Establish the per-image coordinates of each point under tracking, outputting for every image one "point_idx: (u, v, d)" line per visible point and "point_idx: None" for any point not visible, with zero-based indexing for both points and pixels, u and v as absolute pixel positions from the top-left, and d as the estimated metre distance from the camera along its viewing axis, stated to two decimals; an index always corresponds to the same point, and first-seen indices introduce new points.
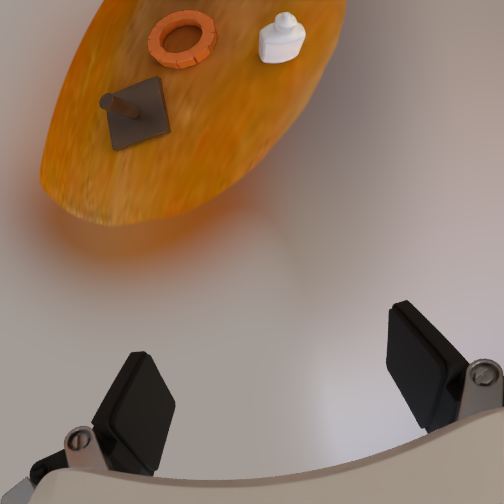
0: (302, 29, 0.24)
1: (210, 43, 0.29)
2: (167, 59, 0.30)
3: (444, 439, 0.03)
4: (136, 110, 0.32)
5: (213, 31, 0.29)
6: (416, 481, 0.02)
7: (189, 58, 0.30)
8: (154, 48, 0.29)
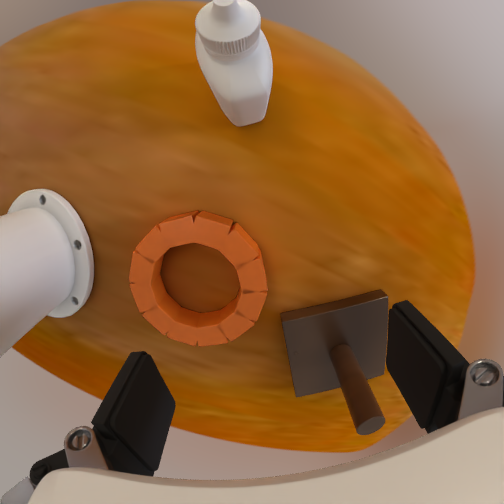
0: None
1: (223, 224, 0.18)
2: (254, 309, 0.19)
3: (444, 439, 0.03)
4: (347, 352, 0.20)
5: (190, 220, 0.18)
6: (416, 481, 0.02)
7: (259, 266, 0.19)
8: (221, 333, 0.20)
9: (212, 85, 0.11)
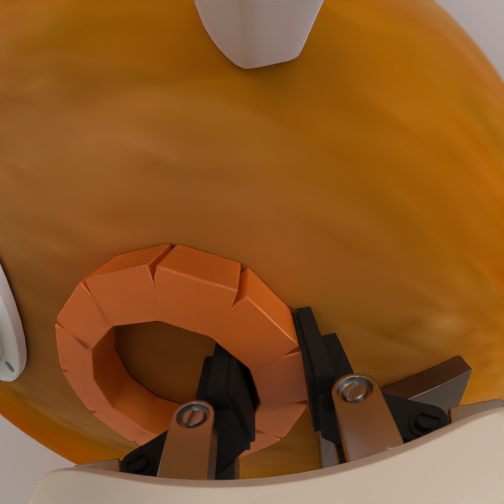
0: None
1: (220, 286, 0.08)
2: (281, 424, 0.09)
3: (444, 439, 0.03)
4: None
5: (145, 274, 0.07)
6: (416, 481, 0.02)
7: (298, 366, 0.08)
8: None
9: None
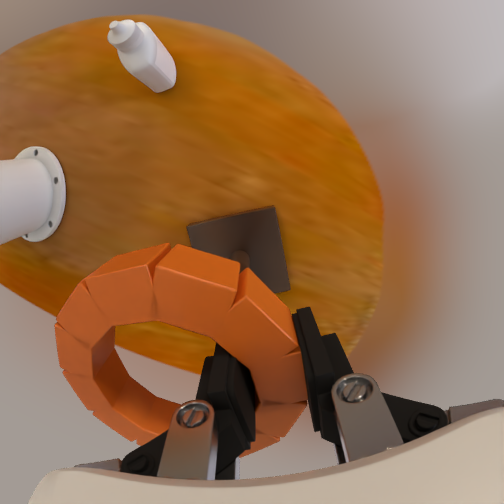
0: None
1: (220, 286, 0.08)
2: (281, 424, 0.09)
3: (444, 439, 0.03)
4: (240, 253, 0.27)
5: (144, 274, 0.07)
6: (416, 481, 0.02)
7: (297, 366, 0.08)
8: None
9: (124, 66, 0.17)
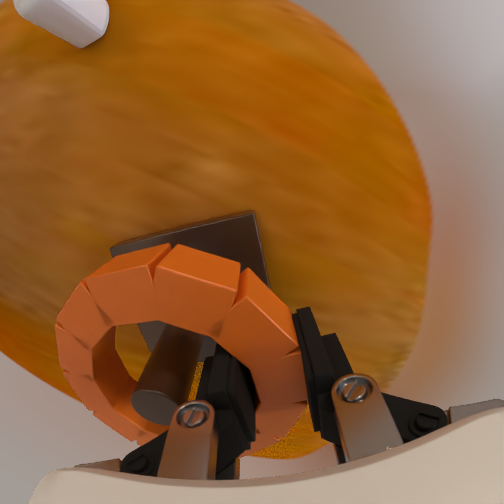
0: None
1: (220, 286, 0.08)
2: (281, 424, 0.09)
3: (444, 439, 0.03)
4: None
5: (145, 274, 0.07)
6: (416, 481, 0.02)
7: (298, 366, 0.08)
8: None
9: (17, 10, 0.05)
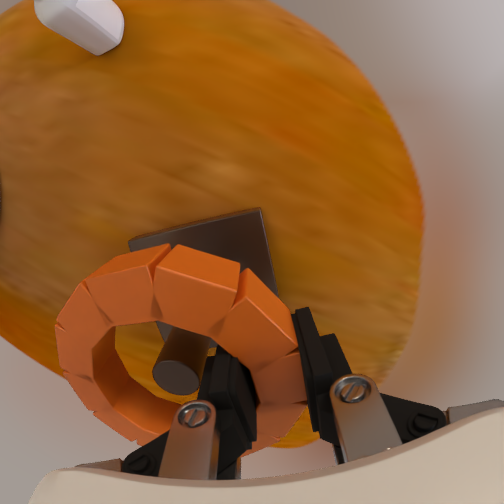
0: None
1: (220, 286, 0.08)
2: (281, 424, 0.09)
3: (444, 439, 0.03)
4: None
5: (145, 274, 0.07)
6: (416, 481, 0.02)
7: (297, 366, 0.08)
8: None
9: (38, 18, 0.07)
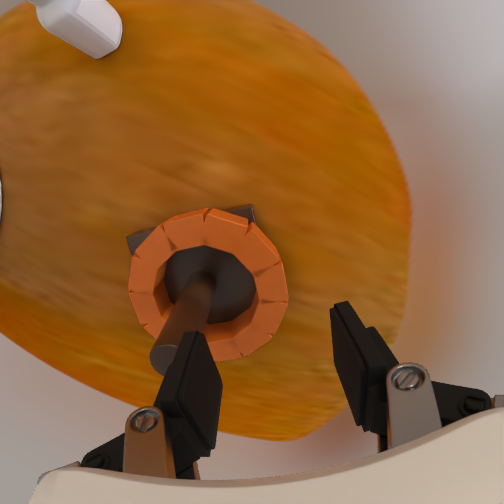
0: None
1: (239, 224, 0.15)
2: (272, 321, 0.17)
3: (444, 439, 0.03)
4: (200, 278, 0.17)
5: (200, 218, 0.15)
6: (416, 481, 0.02)
7: (280, 273, 0.16)
8: (234, 348, 0.18)
9: (40, 23, 0.08)
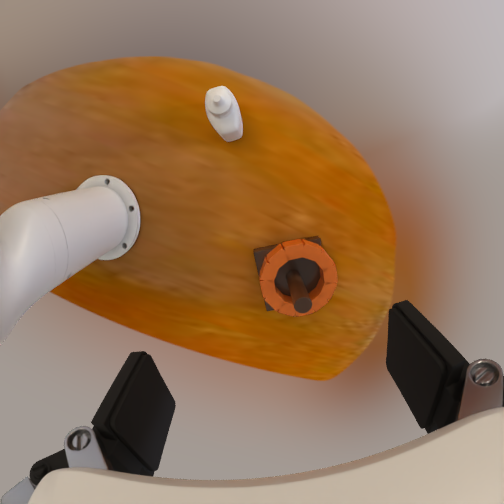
0: (218, 88, 0.25)
1: (318, 248, 0.34)
2: (329, 292, 0.35)
3: (444, 439, 0.03)
4: (295, 272, 0.36)
5: (302, 245, 0.34)
6: (416, 481, 0.02)
7: (334, 270, 0.34)
8: None
9: (213, 126, 0.26)
